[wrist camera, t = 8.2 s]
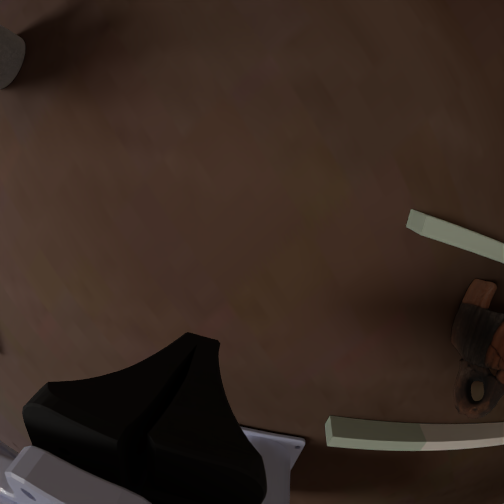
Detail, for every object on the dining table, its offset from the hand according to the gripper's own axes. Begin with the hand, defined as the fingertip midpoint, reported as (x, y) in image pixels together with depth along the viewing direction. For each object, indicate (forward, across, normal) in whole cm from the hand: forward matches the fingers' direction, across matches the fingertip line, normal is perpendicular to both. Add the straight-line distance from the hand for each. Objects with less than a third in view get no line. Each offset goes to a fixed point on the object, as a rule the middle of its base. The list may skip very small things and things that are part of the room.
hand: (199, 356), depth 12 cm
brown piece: (+10, -21, 0) cm, 23 cm away
